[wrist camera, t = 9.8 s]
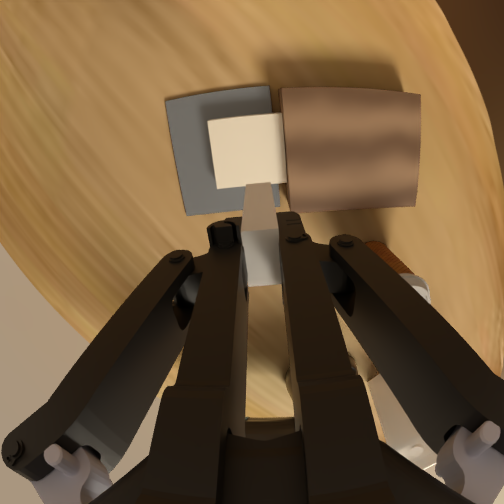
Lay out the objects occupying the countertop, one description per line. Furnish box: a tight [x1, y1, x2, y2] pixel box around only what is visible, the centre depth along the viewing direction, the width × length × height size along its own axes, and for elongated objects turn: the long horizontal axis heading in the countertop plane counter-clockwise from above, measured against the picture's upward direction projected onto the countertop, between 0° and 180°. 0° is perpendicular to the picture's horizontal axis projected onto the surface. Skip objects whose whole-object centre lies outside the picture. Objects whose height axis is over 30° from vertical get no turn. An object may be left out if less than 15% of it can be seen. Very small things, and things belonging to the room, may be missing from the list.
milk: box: [367, 373, 437, 470], centre depth 45 cm, size 12×12×26 cm
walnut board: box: [278, 87, 421, 213], centre depth 29 cm, size 14×16×4 cm
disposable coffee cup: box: [365, 241, 431, 304], centre depth 34 cm, size 10×10×12 cm
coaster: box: [207, 113, 287, 189], centre depth 31 cm, size 8×8×2 cm
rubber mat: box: [165, 86, 280, 216], centre depth 32 cm, size 15×12×1 cm
